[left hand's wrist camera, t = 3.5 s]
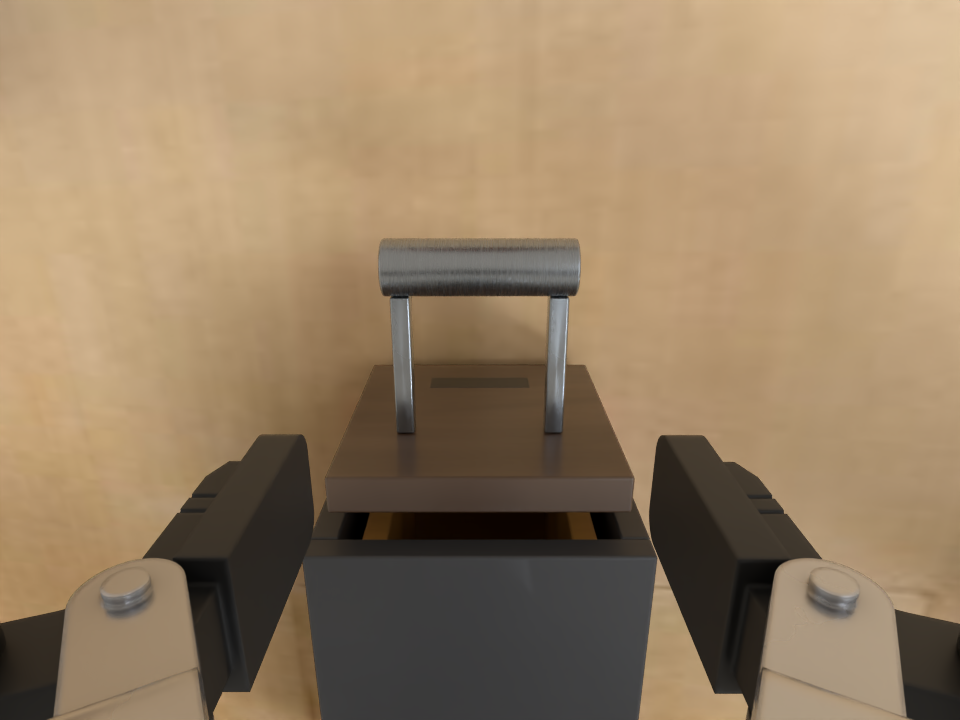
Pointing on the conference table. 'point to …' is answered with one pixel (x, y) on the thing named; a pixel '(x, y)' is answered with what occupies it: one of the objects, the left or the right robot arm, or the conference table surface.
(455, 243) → the drawer
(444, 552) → the cabinet
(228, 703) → the conference table surface
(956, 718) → the left robot arm
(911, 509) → the conference table surface
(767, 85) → the conference table surface
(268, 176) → the conference table surface
